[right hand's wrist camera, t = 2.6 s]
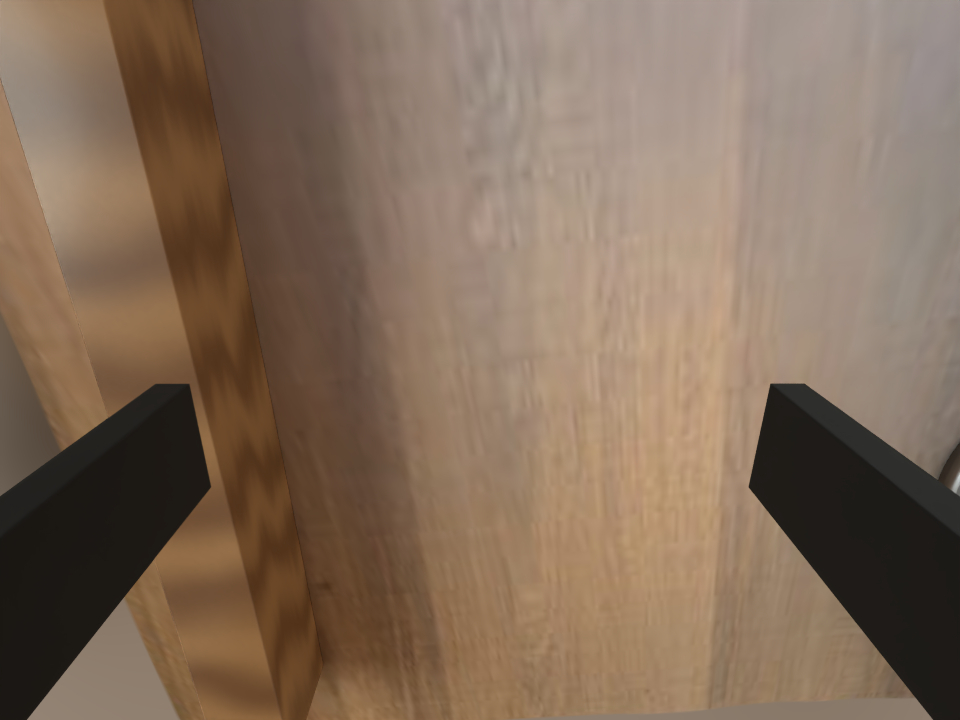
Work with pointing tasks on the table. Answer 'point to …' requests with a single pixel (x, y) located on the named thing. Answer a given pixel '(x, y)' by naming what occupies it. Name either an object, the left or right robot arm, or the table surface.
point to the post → (169, 317)
